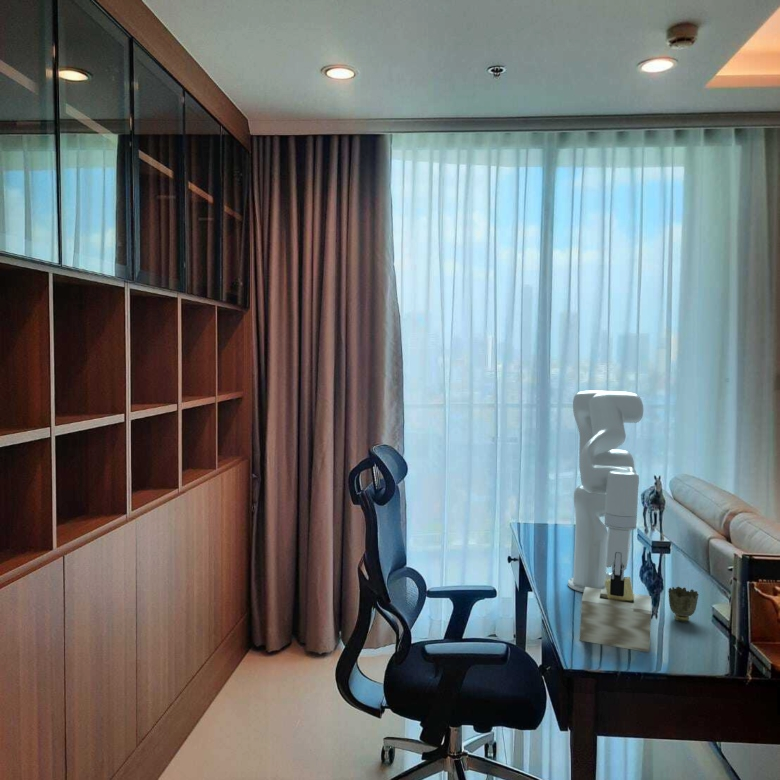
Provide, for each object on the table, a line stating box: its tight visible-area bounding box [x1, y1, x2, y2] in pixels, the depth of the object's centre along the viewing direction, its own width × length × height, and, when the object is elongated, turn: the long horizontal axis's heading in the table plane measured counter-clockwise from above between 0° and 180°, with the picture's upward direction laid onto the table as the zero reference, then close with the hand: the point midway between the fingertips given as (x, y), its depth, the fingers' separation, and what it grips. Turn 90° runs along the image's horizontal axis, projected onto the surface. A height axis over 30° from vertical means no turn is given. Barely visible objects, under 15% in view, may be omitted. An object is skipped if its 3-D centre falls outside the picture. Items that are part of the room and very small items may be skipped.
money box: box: [579, 587, 652, 653], centre depth 168 cm, size 16×11×10 cm
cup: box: [668, 586, 699, 623], centre depth 182 cm, size 8×7×8 cm
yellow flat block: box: [605, 576, 635, 601], centre depth 168 cm, size 5×2×6 cm
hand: (616, 593), depth 168 cm, fingers closed on yellow flat block, 1 cm apart
